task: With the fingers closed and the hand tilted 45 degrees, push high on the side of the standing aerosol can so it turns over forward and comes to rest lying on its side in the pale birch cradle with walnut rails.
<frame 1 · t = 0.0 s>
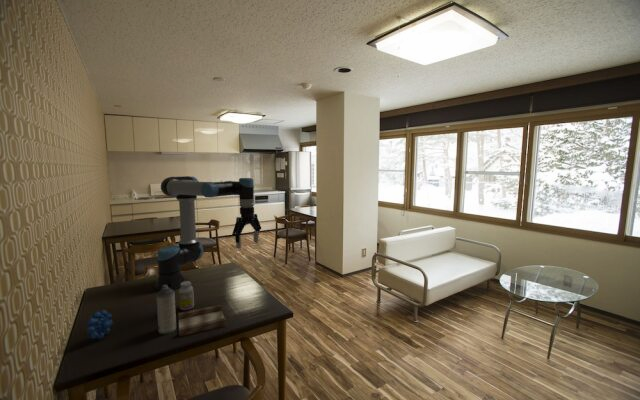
hand: (247, 245, 157), 28 cm above the table, tool pointing down, fingers open, 13 cm apart
aerosol can: (167, 330, 125), on the table
cradle: (202, 322, 131), on the table
grapes: (103, 338, 118), on the table
supplement bottle: (187, 307, 145), on the table
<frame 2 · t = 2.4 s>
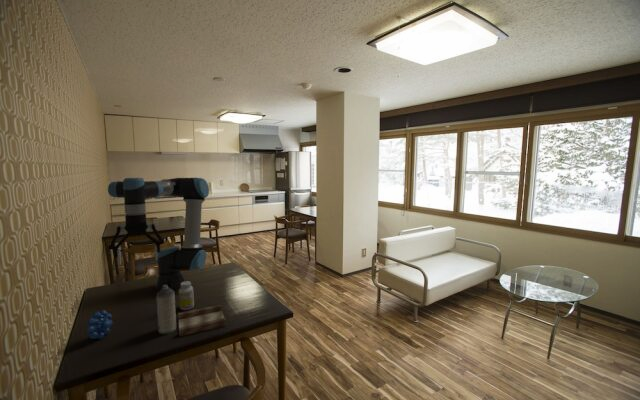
hand: (138, 262, 125), 29 cm above the table, tool pointing down, fingers open, 13 cm apart
nothing on the table moved.
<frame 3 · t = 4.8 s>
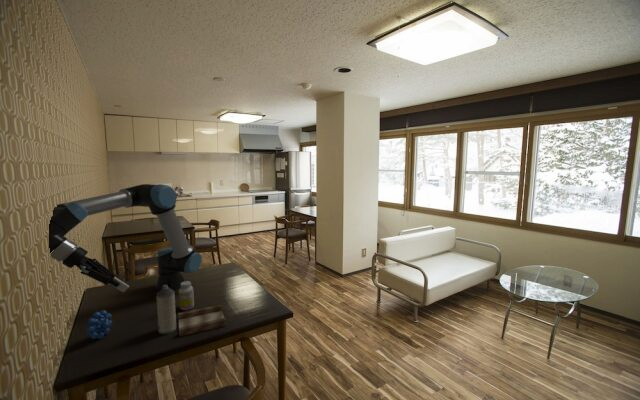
hand: (126, 289, 116), 21 cm above the table, tool tilted 45°, fingers closed
nothing on the table moved.
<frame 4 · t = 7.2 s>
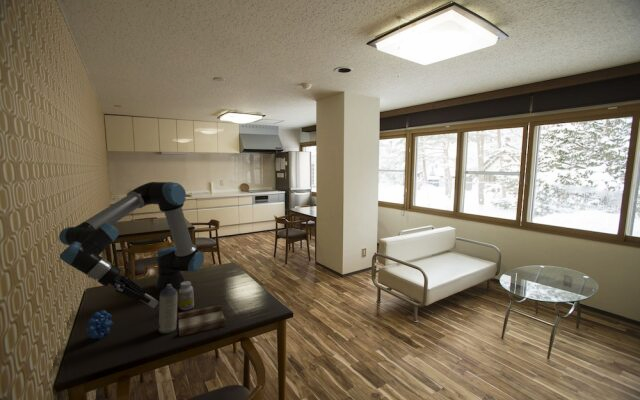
hand: (156, 304, 121), 12 cm above the table, tool tilted 45°, fingers closed
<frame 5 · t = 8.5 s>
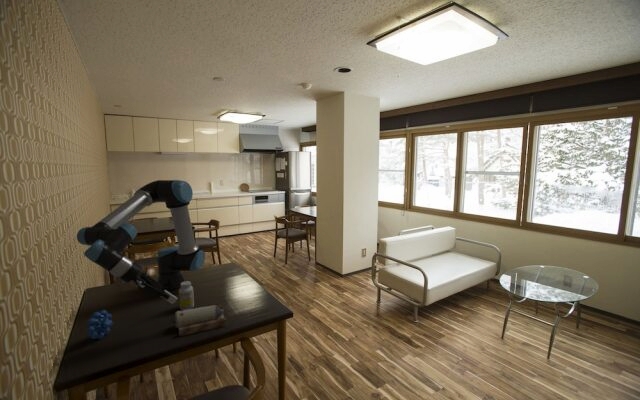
hand: (175, 301, 125), 12 cm above the table, tool tilted 45°, fingers closed
aerosol can: (175, 320, 125), point 4 cm above the table, touching cradle
everything else where it was.
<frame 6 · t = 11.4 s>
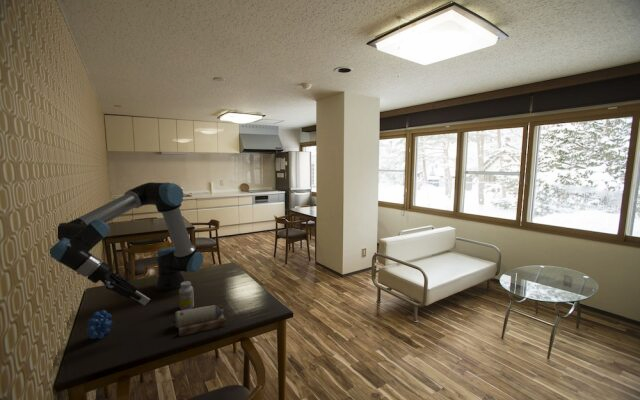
hand: (147, 302, 120), 14 cm above the table, tool tilted 45°, fingers closed
nothing on the table moved.
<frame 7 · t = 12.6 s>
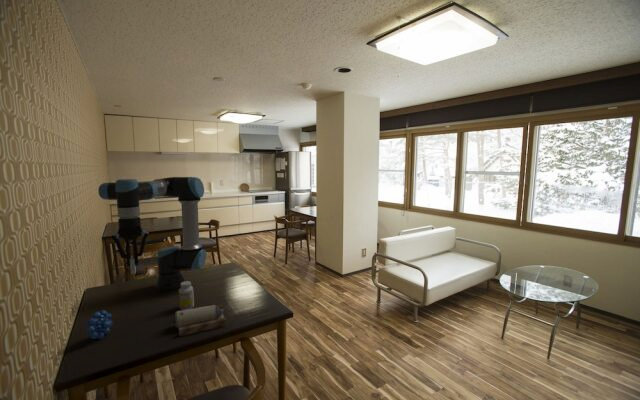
hand: (133, 272, 120), 26 cm above the table, tool pointing down, fingers closed
nothing on the table moved.
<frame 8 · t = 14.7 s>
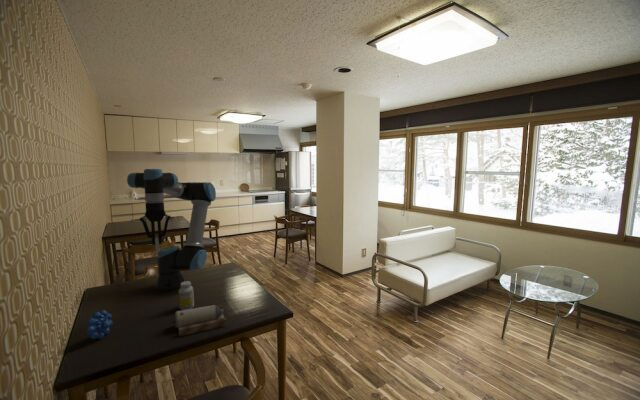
hand: (157, 251, 137), 30 cm above the table, tool pointing down, fingers closed
nothing on the table moved.
at the end: aerosol can tilted 90°; aerosol can 10.8 cm from the cradle (horizontally); the gripper is holding nothing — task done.
